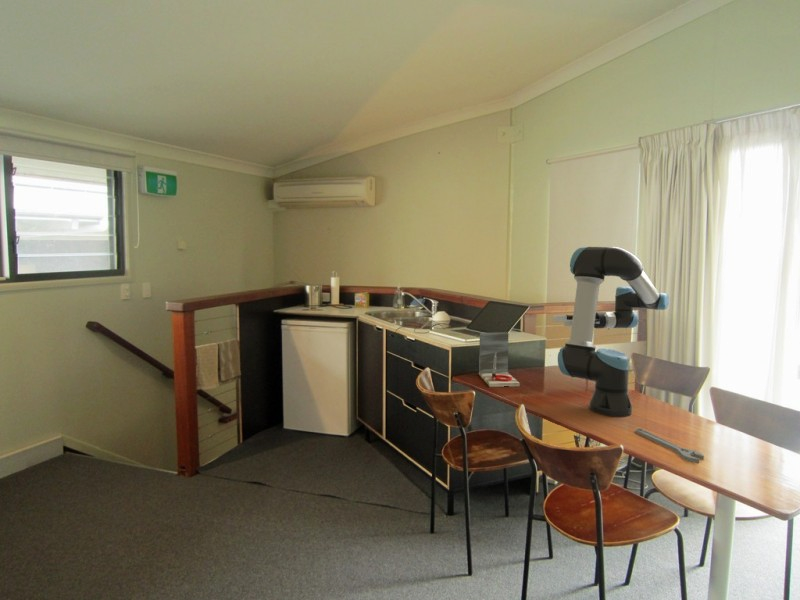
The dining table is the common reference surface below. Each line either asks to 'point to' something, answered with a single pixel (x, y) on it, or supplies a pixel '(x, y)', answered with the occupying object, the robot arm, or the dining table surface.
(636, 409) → the dining table surface
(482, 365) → the grey l-shaped piece
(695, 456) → the adjustable wrench
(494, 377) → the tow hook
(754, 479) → the dining table surface
